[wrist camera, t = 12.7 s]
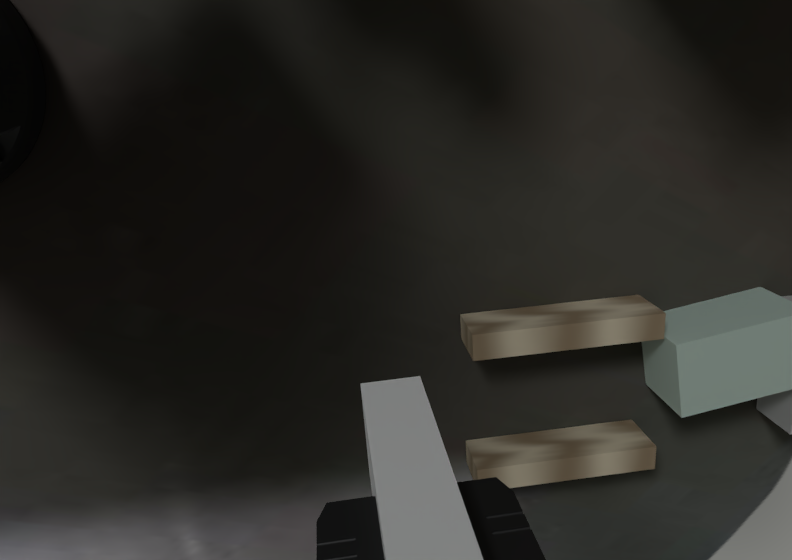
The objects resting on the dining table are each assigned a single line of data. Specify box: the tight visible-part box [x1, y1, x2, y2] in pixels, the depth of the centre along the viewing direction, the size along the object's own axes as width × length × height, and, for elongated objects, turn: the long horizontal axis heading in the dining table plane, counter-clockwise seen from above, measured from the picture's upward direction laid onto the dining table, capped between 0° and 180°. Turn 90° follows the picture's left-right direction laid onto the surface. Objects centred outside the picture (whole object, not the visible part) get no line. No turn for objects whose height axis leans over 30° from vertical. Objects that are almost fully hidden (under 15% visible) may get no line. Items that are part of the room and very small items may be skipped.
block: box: [642, 287, 792, 418], centre depth 47 cm, size 10×6×6 cm, turn 103°
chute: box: [460, 295, 666, 488], centre depth 47 cm, size 14×13×4 cm
